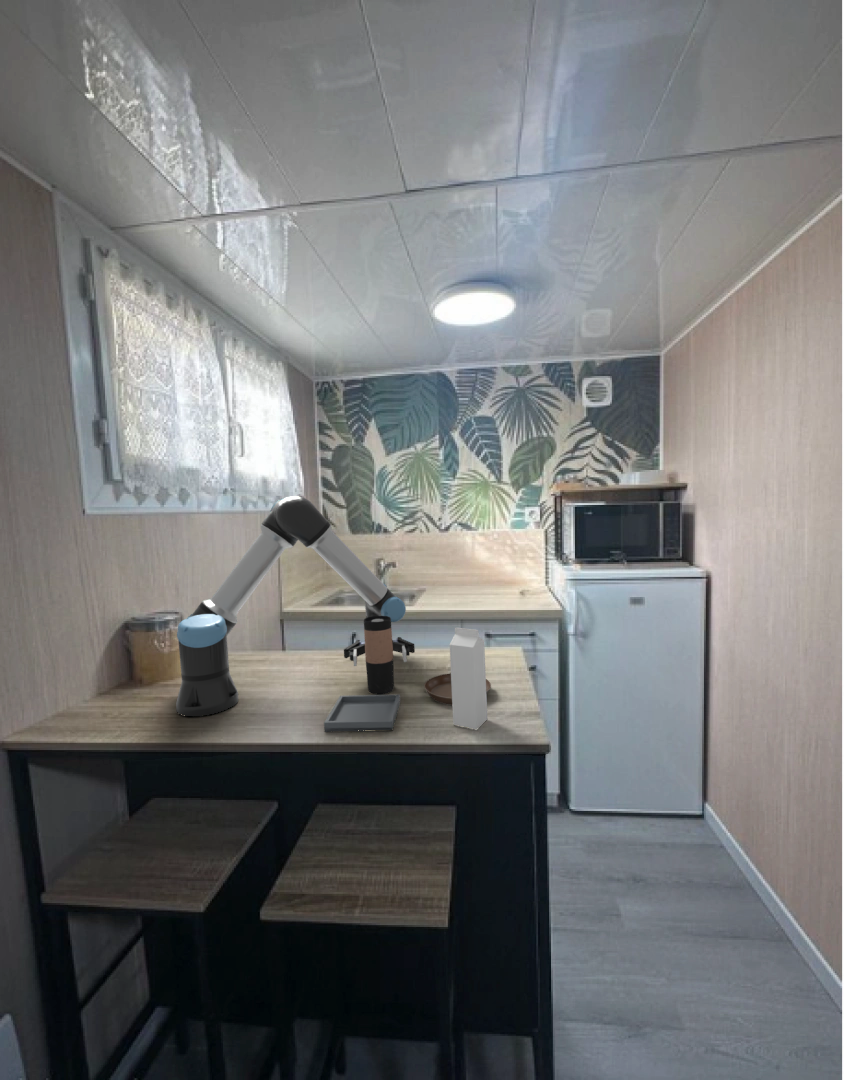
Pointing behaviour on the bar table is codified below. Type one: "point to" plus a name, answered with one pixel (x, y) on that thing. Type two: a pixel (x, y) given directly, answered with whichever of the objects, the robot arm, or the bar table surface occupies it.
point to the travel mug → (379, 654)
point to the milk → (468, 678)
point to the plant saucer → (443, 688)
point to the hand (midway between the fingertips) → (380, 659)
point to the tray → (363, 713)
